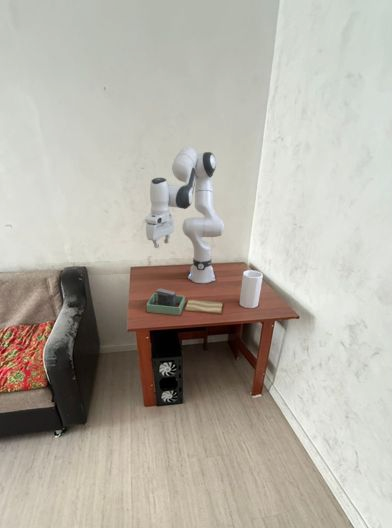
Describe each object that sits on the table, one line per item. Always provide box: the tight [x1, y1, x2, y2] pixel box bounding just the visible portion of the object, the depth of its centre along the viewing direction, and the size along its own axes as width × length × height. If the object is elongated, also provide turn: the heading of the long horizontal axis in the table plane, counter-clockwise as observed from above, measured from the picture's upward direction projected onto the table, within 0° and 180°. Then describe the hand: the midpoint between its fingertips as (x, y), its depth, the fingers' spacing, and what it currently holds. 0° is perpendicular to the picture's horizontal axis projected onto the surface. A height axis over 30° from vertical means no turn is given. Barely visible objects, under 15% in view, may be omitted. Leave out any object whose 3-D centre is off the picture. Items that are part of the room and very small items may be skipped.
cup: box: [239, 269, 264, 309], centre depth 165 cm, size 11×11×18 cm
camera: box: [155, 288, 177, 307], centre depth 162 cm, size 11×6×10 cm, turn 64°
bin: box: [145, 292, 186, 316], centre depth 164 cm, size 14×18×4 cm
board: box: [184, 299, 224, 315], centre depth 166 cm, size 12×20×1 cm, turn 81°
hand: (161, 245), depth 151 cm, fingers open, 8 cm apart
